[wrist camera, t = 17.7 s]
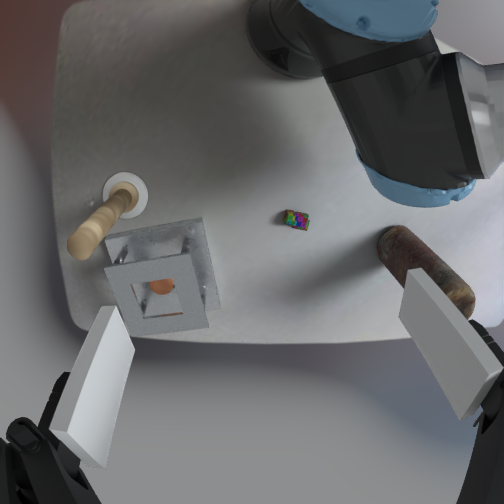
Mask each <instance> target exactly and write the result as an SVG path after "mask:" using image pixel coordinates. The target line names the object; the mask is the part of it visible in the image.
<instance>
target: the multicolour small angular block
mask: <svg viewBox="0 0 504 504" xmlns="http://www.w3.org/2000/svg"><path fill="white" fill-rule="evenodd" d="M308 217H309V216H308V214H306V213H301V212H297V213H295V212H294V211H292V210H286V214H285V217H284V221H283V222H284V224H286V225H291V226H292V225H293V226H292V228H295V229H300V230H305V231H307V229H308V225H309V222H310V221H309V220H308Z"/></svg>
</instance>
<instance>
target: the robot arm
mask: <svg viewBox="0 0 504 504" xmlns="http://www.w3.org/2000/svg"><path fill="white" fill-rule="evenodd" d="M438 4H439V2H438V0H254V1H253V3H252V5H251V7H250V10H249V13H248V17H247V24H246V26H247V35H248V38H249V41H250V44H251V46H252V48H253V49H254V51H255V52H256V54H257V55H258V56H259V57H260V59H261V60H262V61H263V62H265V63H266V64H267V65H268V66H270V67H271V68H273V69H274V70H276V71H278V72H280V73H282V74H285V75H288V76H291V77H296V78H305V79H306V78H317V77H322V76H324V78H325V80H326V82H327V85H328V87H329V89H330V91H331V93H332V95H333V97H334V100H335V102H336V104H337V106H338V108H339V110H340V112H341V114H342V117H343V119H344V121H345V123H346V126H347V128H348V130H349V132H350V135H351V137H352V139H353V142H354V144H355V147H356V154H357V157H358V159H359V161H360V162H361V163H362V165H363V166H364V168H365V170H366V172H367V175H368V177H369V179H370V181H371V183H372V185H373V186H374V188H376V189H377V190H378V192H379V193H380V194H382V195H383V196H384V197H386V198H388V199H389V200H391V201H393V202H396V203H399V204H402V205H407V206H412V207H424V208H426V207H439V206H444V205H448V204H449V203H450V200H454V201H459V200H461V199H463V198H465V197H466V196H467V195H469V194H470V192H471V191H472V190H473V188H474V186H475V182H476V180H477V179H490V177H491V176H492V175H493V174H494V172H495V171H496V170H497V168H498V167H499V166H500V164H502V163H503V162H504V63H500V64H490V65H481V64H479V63H477V62H475V61H474V60H472V59H471V58H469V57H468V56H466V55H465V54H463V53H462V52H453V53H447V54H441V53H440V51H439V48H438V46H437V44H436V41H435V39H434V37H433V34H432V32H431V30H430V28H431V27H432V25H433V24H434V22H435V20H436V18H437V15H438V12H437V10H436V9H435V8H436V5H438ZM399 318H400V320H401V322H402V323H403V325H404V326H405V328H406V329H407V331H408V333H409V334H410V336H411V337H412V339H413V340H414V342H415V344H416V345H417V347H418V348H419V350H420V352H421V354H422V355H423V357H424V358H425V360H426V362H427V363H428V365H429V367H430V368H431V370H432V372H433V373H434V375H435V377H436V379H437V381H438V382H439V384H440V386H441V388H442V389H443V391H444V393H445V395H446V396H447V398H448V400H449V402H450V404H451V406H452V407H453V409H454V411H455V413H456V415H457V417H458V419H459V421H460V420H462V419H464V418H467V417H469V416H471V415H473V414H474V413H475V412H476V410H477V409H478V408H479V406H480V405H481V407H482V408H483V412H482V413H481V414H480V416H479V417H478V419H477V420H476V421H475V423H474V425H473V427H475V426H476V425H477V423H478V422H479V426H478V431H477V435H476V440H475V444H474V448H473V452H472V456H471V460H470V464H469V467H468V470H467V473H466V477H465V480H464V483H463V486H462V489H461V492H460V495H459V498H458V501H457V503H456V504H504V352H503V351H502V350H501V348H500V347H499V346H498V345H497V343H496V342H494V340H493V338H492V337H491V336H489V333H488V332H487V331H486V330H485V328H484V327H483V326H482V325H481V324H479V323H478V322H476V321H475V320H473V319H472V320H469V321H467V319H466V318H465V317H464V316H463V315H462V313H461V312H460V311H459V310H458V309H457V307H456V306H455V305H454V304H453V303H452V302H451V300H450V299H449V298H448V297H447V296H446V295H445V293H444V292H443V291H442V290H441V289H440V288H439V287H438V286H437V284H436V283H435V282H434V281H433V280H432V279H431V278H430V277H429V276H428V275H427V273H426V272H425V271H424V270H423V269H422V268H417V269H411V270H408V271H407V277H406V283H405V288H404V293H403V298H402V303H401V308H400V312H399ZM134 351H135V349H134V347H133V344H132V342H131V340H130V337H129V335H128V333H127V330H126V328H125V326H124V323H123V321H122V319H121V316H120V314H119V311H118V309H117V306H116V305H113V306H101V308H100V310H99V312H98V314H97V316H96V318H95V321H94V323H93V325H92V327H91V329H90V331H89V333H88V335H87V337H86V339H85V342H84V344H83V346H82V348H81V350H80V353H79V355H78V357H77V359H76V362H75V364H74V367H73V369H72V371H71V372H64V373H63V374H62V375H61V376H60V377H59V379H57V381H56V383H55V385H54V387H53V390H52V393H51V395H50V397H49V401H48V402H47V404H46V407H45V409H44V412H43V414H42V417H41V419H40V422H39V425H38V427H37V426H36V425H35V424H34V423H33V422H32V421H31V420H30V419H28V418H25V417H21V418H18V419H15V420H14V421H13V422H12V423H11V424H10V426H9V427H8V429H7V432H6V439H7V440H8V441H9V442H10V443H6V442H5V441H4V440H3V439H2V438H0V504H101V502H100V500H99V499H98V497H97V495H96V494H95V492H94V490H93V489H92V487H91V485H90V484H89V482H88V480H87V478H86V476H85V474H84V473H83V471H82V470H81V468H80V467H79V465H80V461H82V462H83V463H84V464H86V465H87V466H88V467H93V468H99V469H105V468H106V463H107V458H108V454H109V449H110V445H111V440H112V436H113V431H114V427H115V422H116V418H117V414H118V410H119V406H120V402H121V398H122V395H123V391H124V387H125V383H126V380H127V376H128V372H129V368H130V365H131V362H132V358H133V355H134Z"/></svg>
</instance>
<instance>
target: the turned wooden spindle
mask: <svg viewBox="0 0 504 504" xmlns="http://www.w3.org/2000/svg"><path fill="white" fill-rule="evenodd" d="M138 200H139V193H138V190H137V189H136V187H135V186H134V185H133V184H131V183H129V182H126V181H122V182H119V183H117V184H116V185H114V186H113V187H112V188H111V190H110V192H109V197H108V199H107V200H106V201H105V202H104V203H103V204H102V205H101V206H100V207H99V208H98V209H97V210H96V211H95V212H94V213H93V214H92V215H91V216H90V217H89V218H88V219H87V220H86V221H85V222H84V223H83V224H82V225H81V226H80V227H79V228H78V229H77V230H76V231H75V232H74V233H73V234H72V235H71V236H70V237H69V238H68V240H67V249H68V252H69V253H70V255H71V256H72V257H74V258H75V259H77V260H85V259H87V258H89V256H90V255H91V254H92V252H93V251H94V250H95V248H96V247H97V246H98V244H99V243H100V242H101V240H102V239H103V238H104V236H105V235H106V234H107V232H108V231H109V230H110V229H111V227H112V226H113V225H114V223H115V222H116V221H117V220H118V218H119V217H120V216H121V215H122V213H127V212H129V211H131V210H132V209H133V208H134V207H135V206H136V205H137V203H138Z"/></svg>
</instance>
